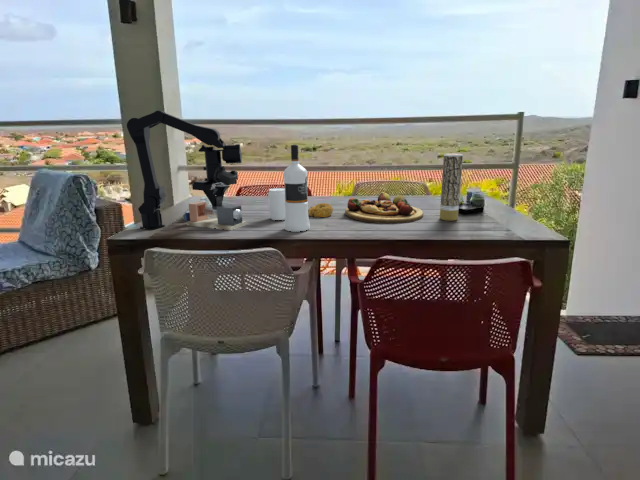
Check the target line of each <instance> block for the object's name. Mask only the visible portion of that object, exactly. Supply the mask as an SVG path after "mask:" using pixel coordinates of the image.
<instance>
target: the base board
mask: <svg viewBox="0 0 640 480" xmlns="http://www.w3.org/2000/svg"><path fill="white" fill-rule="evenodd" d="M247 225H248V221H246V220H242V223H240V224H237V225H234V226H230V225H221V224H218V217H212V216H208V219H205V220H202V221H198V222H194V221H186V226H189V227H199V228H206V227H207V228H206V229H214V228H216V229H215V230H222V229H224V230H223V231H230V230H231V231H234V230H236V229H239V228H242V227H244V226H247ZM233 229H234V230H233Z"/></svg>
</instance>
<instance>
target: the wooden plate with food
mask: <svg viewBox="0 0 640 480" xmlns="http://www.w3.org/2000/svg"><path fill="white" fill-rule="evenodd" d="M344 214H345V215H346V216H347V217H348V218H349V219H353V220H355V221H356V220H357V221H360V222H367V223H373V224H404V223H411V222H415V221H419V220H421V219H422V218H423V217H424V212H423V211H422V209H420V208H419V207H414V206H412V205H411V204H410V203H408V200H407V199H406V198H405V197H404V196H403V195H402V194H398V195H397V196H395V197H394V198H393V199H392V200H391V196H390V195H389V194H388V193H386V192H385V191H382V192H381V193H380V194H379V195H378V197H377V200H375V199H374V200H370V199H363V200H361V201H360V200H359V199H358V198H355V197H351V198H349V199H348V201H347V206H346V209H345V211H344Z"/></svg>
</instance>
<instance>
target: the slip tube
mask: <svg viewBox="0 0 640 480" xmlns="http://www.w3.org/2000/svg"><path fill="white" fill-rule="evenodd" d="M221 205H223V201H222V196H216V206H215V207H213V206H212V205H211V207H205V208H204V215H205V216H208V217H212V218H218V217H217V207H218V206H221ZM241 210H242V209H241ZM241 210H239V209H233V217H234V219H241V217H242V218H243V211H241Z"/></svg>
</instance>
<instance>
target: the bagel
mask: <svg viewBox="0 0 640 480" xmlns="http://www.w3.org/2000/svg"><path fill="white" fill-rule="evenodd" d="M333 213H334V207H333V206H332V204H330V203H325V202H324V203H323V202H322V203H318V204H316V205H314V206H311V207H310V208H308V217H311V216H312V218H313V216H314V218H320V217H324V218H328V217H330V216H331V215H333Z"/></svg>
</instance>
